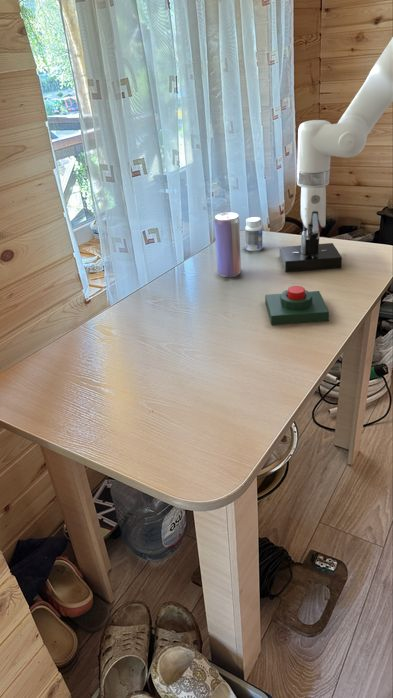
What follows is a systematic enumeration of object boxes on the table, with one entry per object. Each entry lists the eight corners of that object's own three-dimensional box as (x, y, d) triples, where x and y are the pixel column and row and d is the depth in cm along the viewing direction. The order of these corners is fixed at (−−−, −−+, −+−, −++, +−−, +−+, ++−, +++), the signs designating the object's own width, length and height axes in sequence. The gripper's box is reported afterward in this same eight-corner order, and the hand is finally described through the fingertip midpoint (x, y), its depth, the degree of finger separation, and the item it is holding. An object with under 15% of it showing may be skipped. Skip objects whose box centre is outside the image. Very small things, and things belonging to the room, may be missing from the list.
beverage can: (222, 280, 128) (218, 221, 121) (214, 271, 133) (211, 214, 125) (244, 275, 130) (242, 217, 122) (236, 267, 135) (234, 210, 127)
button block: (318, 299, 116) (319, 283, 114) (328, 321, 107) (329, 304, 105) (265, 303, 116) (265, 287, 114) (271, 325, 108) (271, 308, 105)
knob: (300, 249, 134) (300, 229, 131) (317, 248, 133) (318, 228, 131) (302, 255, 130) (302, 235, 127) (319, 254, 130) (320, 234, 127)
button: (303, 292, 111) (303, 285, 110) (306, 300, 108) (306, 292, 107) (286, 293, 111) (286, 286, 110) (289, 301, 108) (289, 293, 107)
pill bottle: (262, 251, 142) (261, 221, 138) (245, 251, 143) (244, 222, 139) (262, 245, 146) (262, 216, 142) (246, 245, 147) (245, 216, 143)
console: (331, 253, 137) (332, 242, 136) (341, 268, 129) (342, 256, 127) (279, 257, 138) (279, 246, 136) (285, 272, 129) (285, 260, 128)
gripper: (336, 185, 115) (330, 262, 124) (322, 167, 129) (319, 237, 138) (302, 188, 115) (299, 264, 125) (292, 170, 129) (291, 239, 139)
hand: (309, 249), depth 131 cm, fingers closed on knob, 4 cm apart
